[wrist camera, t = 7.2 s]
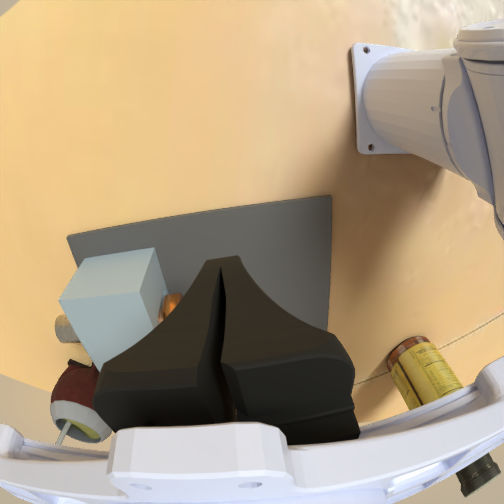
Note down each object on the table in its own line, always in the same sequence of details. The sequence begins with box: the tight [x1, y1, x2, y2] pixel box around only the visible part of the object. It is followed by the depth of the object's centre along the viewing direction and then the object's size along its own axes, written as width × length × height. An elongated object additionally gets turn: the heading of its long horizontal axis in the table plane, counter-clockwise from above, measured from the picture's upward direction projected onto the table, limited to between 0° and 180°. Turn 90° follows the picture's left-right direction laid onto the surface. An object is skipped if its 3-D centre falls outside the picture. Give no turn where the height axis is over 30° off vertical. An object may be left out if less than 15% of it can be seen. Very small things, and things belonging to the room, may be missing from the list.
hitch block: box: [58, 247, 168, 372], centre depth 22 cm, size 6×10×6 cm, turn 6°
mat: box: [67, 195, 332, 331], centre depth 24 cm, size 20×14×1 cm
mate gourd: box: [50, 359, 112, 445], centre depth 22 cm, size 8×8×15 cm
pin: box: [55, 293, 183, 343], centre depth 22 cm, size 11×4×4 cm, turn 96°
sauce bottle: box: [387, 336, 501, 497], centre depth 23 cm, size 6×6×20 cm
